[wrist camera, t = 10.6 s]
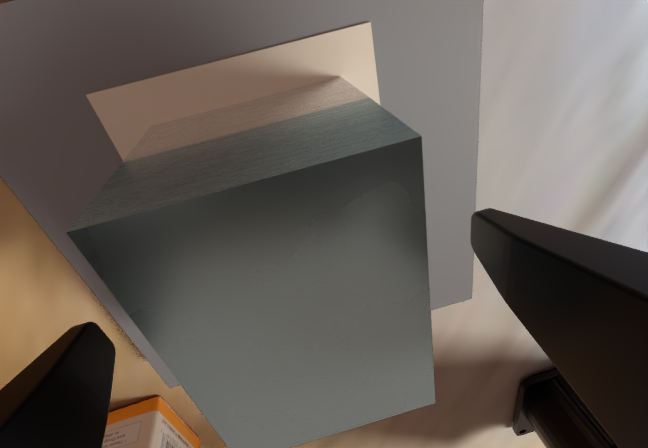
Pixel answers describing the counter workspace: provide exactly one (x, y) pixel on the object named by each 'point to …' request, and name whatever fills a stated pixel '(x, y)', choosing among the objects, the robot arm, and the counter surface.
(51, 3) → the stand
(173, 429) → the supplement box
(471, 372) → the counter surface
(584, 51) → the counter surface
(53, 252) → the counter surface
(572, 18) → the counter surface
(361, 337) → the block
